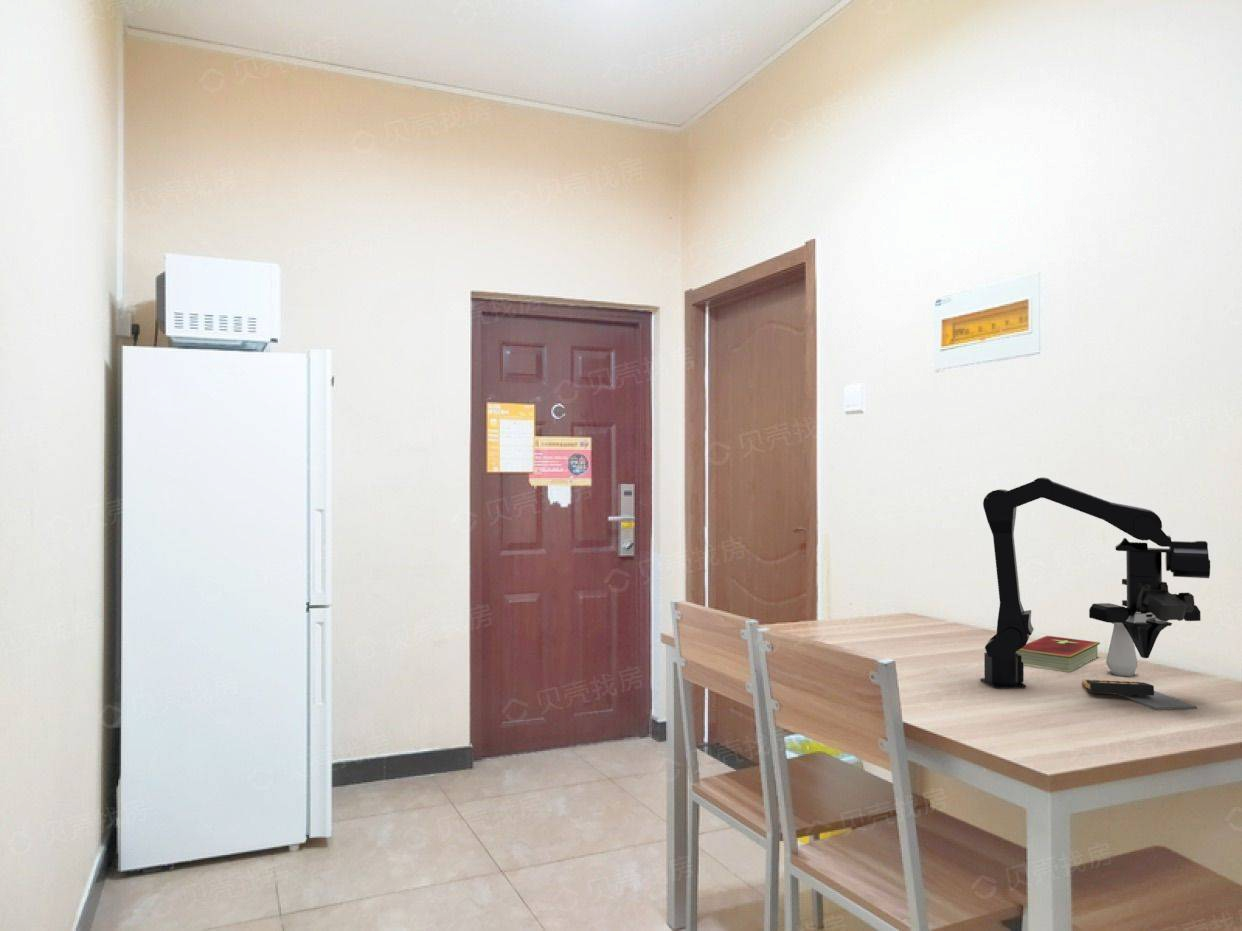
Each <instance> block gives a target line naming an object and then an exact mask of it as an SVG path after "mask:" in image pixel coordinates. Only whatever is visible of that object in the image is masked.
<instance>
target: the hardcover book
mask: <svg viewBox="0 0 1242 931" xmlns="http://www.w3.org/2000/svg"><path fill="white" fill-rule="evenodd" d="M1100 643H1101V642H1099V641H1094V640H1093V641H1092V640H1085V639H1084V640H1083V639H1076V638H1068V637H1060V636H1054V635H1045V636H1043V637H1040V638H1037V639H1035V640H1033V641H1030V642H1027V643H1026V645H1025V646H1024V647H1023V648H1021V649H1019V650H1017V652H1016V653H1017V654H1019V655H1021V662H1023V663H1024V666H1026V665H1028V666H1027V667H1032V666H1034V668H1039V667H1041V668H1040V669H1045V668H1048V669H1047V670H1052V669H1054V670H1053V671H1058V670H1061V672H1065V671H1068V672H1067V673H1070V672H1072V671H1074V670H1076V669H1078V668H1080V667H1081V665H1082V664H1084V663H1086V662H1088V661H1089V660H1091V659H1093V660H1095V659H1096V657H1097V658H1098V646H1099V645H1100ZM1094 658H1095V659H1094ZM1091 661H1092V660H1091ZM1089 662H1090V661H1089ZM1089 662H1088V663H1089ZM1086 664H1087V663H1086ZM1084 665H1085V664H1084ZM1079 666H1080V667H1079ZM1082 666H1083V665H1082ZM1077 667H1078V668H1077ZM1075 668H1076V669H1075ZM1073 669H1074V670H1073ZM1071 670H1072V671H1071ZM1069 671H1070V672H1069Z"/></svg>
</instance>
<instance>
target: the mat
mask: <svg viewBox="0 0 1242 931" xmlns="http://www.w3.org/2000/svg"><path fill="white" fill-rule="evenodd" d="M1116 695H1117V696H1120V697H1123V698H1125V699H1128V700H1131V701H1133V702H1134V703H1138V704H1140V705H1143V706H1146V707H1148V708H1150V709H1152V710H1153V709H1154V710H1156V711H1157V710H1179V709H1180V710H1186V709H1187V710H1189V709H1192V710H1194V709H1198V706H1197V705H1195V704H1192V703H1189V702H1186V701H1183V700H1181V699H1179V698H1176V697H1173V696H1170V695H1167V694H1165V693H1161V692H1159V691H1156V690H1154V696H1152V695H1131V694H1116Z"/></svg>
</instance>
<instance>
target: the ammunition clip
mask: <svg viewBox="0 0 1242 931" xmlns="http://www.w3.org/2000/svg"><path fill="white" fill-rule="evenodd" d="M1081 683H1082V684H1083V686H1084V687H1085V688H1086V690H1087V691H1088V692H1089V693H1091V694H1093V693H1094V694H1109V695H1111V694H1113V695H1117V694H1131V695H1152V696H1154V691H1155V688H1154V687H1155V686H1154V685H1153V684H1150V683H1148V682H1141V681H1128V680H1122V681H1121V680H1120V681H1119V680H1109V679H1108V680H1105V679H1103V680H1099V679H1091V680H1090V679H1087V678H1086V679H1085V678H1084V679H1082V680H1081Z"/></svg>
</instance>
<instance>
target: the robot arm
mask: <svg viewBox="0 0 1242 931" xmlns="http://www.w3.org/2000/svg"><path fill="white" fill-rule="evenodd" d="M1039 499H1045V500H1049V501H1051V502H1054V503H1057V504H1059V505H1062V506H1065V507H1067V508H1070V509H1073V510H1075V511H1079V512H1081V513H1083V514H1086V515H1090V516H1092V517H1095V518H1096V519H1100V520H1103V521H1104V522H1107V523H1108V524H1110V525H1112V526H1114V528H1117V529H1119V530H1120V531H1122V532H1123V533H1125V534H1127V535H1129V536H1131V537H1133V538H1134V539H1136V540H1139V542H1137V541H1135V542H1133V541H1132V542H1131V541H1129V539H1127V538H1126V537H1124V538H1123V539H1122V540H1121V542H1120V543H1118V544H1117V545H1115V547H1114V548H1115V551H1117V552H1126V553H1125V554H1126V555H1125V556H1126V558H1125V560H1126V578H1122V579H1121V585H1125V586H1126V600H1125V599H1123V600H1121V605H1118V604H1114V603H1108V602H1107V603H1105V602H1104V603H1092V604H1091V605H1090V607H1089V610H1088V611H1089V612H1088V617H1089V618H1090V619H1093V620H1097V621H1101V622H1104V623H1109V624H1112V623H1122V624H1123V625H1124V627H1125V628H1126V630H1127V631H1128V633H1129V635H1130V636H1131V638H1132V640H1133V642H1134V647H1135V649H1136V650H1137V652H1138V654H1139V656H1140V658H1142V659H1149V658H1150V655H1151V653H1152V651H1153V648H1154V646H1155V643H1156V641H1157V638H1158V637H1159V635H1160V633H1161V631H1163V630H1164V629H1165V628H1167V627H1171V626H1172V625H1173V623H1172V622H1170V621H1179V622H1181V621H1185V622H1199V621H1200V622H1201V618H1202V617H1201V612H1202V611H1201V610H1200V608H1199V607H1198V606H1197V605H1195V595H1193V594H1191V593H1190V592H1179V593H1171V592H1169V585H1168V583H1167V581H1163V579H1162V578H1163V574H1162V572H1163V570H1162V569H1163V568H1162V566H1163V564H1162V563H1163V562H1162V559H1163V558H1162V555H1163V554H1162V553H1164V554H1165V559H1164V560H1165V571H1166V572H1170V573H1172V577H1173V578H1193V579H1194V578H1195V579H1197V578H1198V579H1209V578H1210V575H1211V560H1210V559H1209V558H1210V557H1209V549H1208V548H1209V547H1208V545H1209V544H1208V542H1207V541H1205V540H1196V541H1179V540H1178V541H1177V540H1172V537H1171V535H1167V534H1166V533H1165V532H1164V530H1162V529H1163V524H1162V520H1161V517H1159V515H1158V514H1156V512H1154V511H1153V510H1151V509H1147V508H1143V507H1138V506H1133V505H1129V504H1128V505H1126V504H1124V503H1123V504H1122V503H1121V504H1120V503H1116V502H1111V501H1108V500H1105V499H1103V498H1100V497H1097V496H1094V495H1092V494H1088V493H1086V492H1083V491H1080V490H1078V489H1075V488H1072V487H1069V486H1067V485H1064V484H1061V483H1059V482H1055V481H1053V480H1052V479H1050V478H1049V477H1037V478H1036V479H1034V480H1033V481H1031V482H1028V483H1025V484H1023V485H1020V486H1017V487H1014V488H1012V489H1009V490H1007V489H995V490H992V491H990V492H988V493H987V494H986V496H985V497H984V498H983V502H982V506H983V510H984V514H985V517H986V520H987V523H988V525H989V528H990V530H991V531H990V532H991V534H992V537H993V547H994V549H993V550H994V558H995V568H996V576H997V578H996V579H997V587H998V597H999V607H998V614H997V615H998V616H997V624H996V634H994V635H993V636H992V637H991V638H990V639H989V640H988V642H987V643H986V644H985V646H984V649H985V652H984V654H983V656H984V660H983V661H984V677H981V678H980V682H983V683H984V684H987V685H988V686H991V687H993V688H995V689H1012V688H1014V689H1016V688H1017V689H1019V688H1027V684H1025V683H1024V679H1025V678H1024V676H1025V673H1024V671H1025V670H1024V666H1025V665H1024V663H1023V662H1021V655H1019V654H1017V653H1016V652H1017V650H1019V649H1021V648H1023V647H1024V646H1025V645H1026V644H1028V640H1029V639H1030V636H1032V634H1033V632H1034V627H1033V625H1032V621H1031V620H1032V619H1031V618H1032V610H1031V609H1030V610H1029V609H1028V610H1025V608H1024V606H1023V604H1022V601H1021V594H1020V593H1021V592H1020V585H1019V583H1020V582H1019V574H1018V566H1017V555H1016V545H1015V535H1014V532H1015V524H1016V517H1017V508H1018V507H1020V506H1022V505H1023V506H1024V505H1026V504H1028V503H1032V502H1033V501H1036V500H1039ZM1140 541H1151V542H1153V543H1154V544H1156V545H1157V546H1159V547H1148V542H1140ZM1160 547H1163V548H1160ZM1164 547H1166V548H1164Z"/></svg>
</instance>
